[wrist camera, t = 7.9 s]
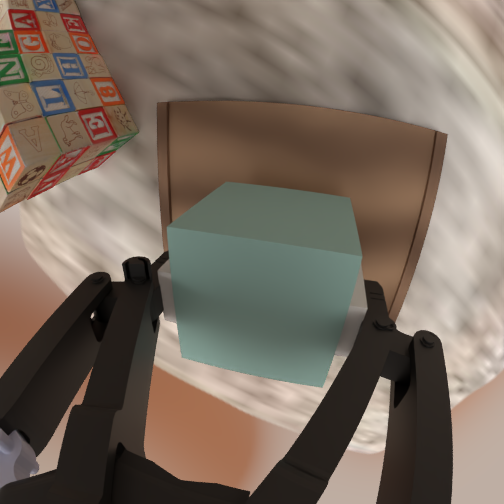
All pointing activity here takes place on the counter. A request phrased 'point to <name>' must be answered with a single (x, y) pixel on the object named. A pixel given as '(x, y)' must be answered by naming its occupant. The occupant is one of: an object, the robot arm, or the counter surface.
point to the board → (310, 170)
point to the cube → (264, 280)
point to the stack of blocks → (53, 99)
